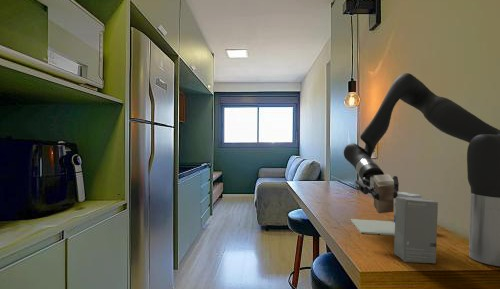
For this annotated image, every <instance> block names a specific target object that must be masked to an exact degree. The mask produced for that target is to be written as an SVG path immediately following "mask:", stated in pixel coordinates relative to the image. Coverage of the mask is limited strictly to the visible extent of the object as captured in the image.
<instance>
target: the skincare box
mask: <svg viewBox="0 0 500 289" xmlns="http://www.w3.org/2000/svg"><path fill="white" fill-rule="evenodd" d="M438 203H439V202H438V201H436V200H431V199H426V198H421V199H419V198H408V197H396V213H395V222H394V223H395V236H393V237H394V239H393V241H394V242H393V243H394V244H393V254H394V255H395V256H397V257H398V258H399V259H400V260H402V261H403V262H404V263H417V264H418V263H419V264H436V263H437V245H438V244H437V240H438V235H437V234H438V212H439V211H438V209H439V207H438V206H439V204H438Z"/></svg>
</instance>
